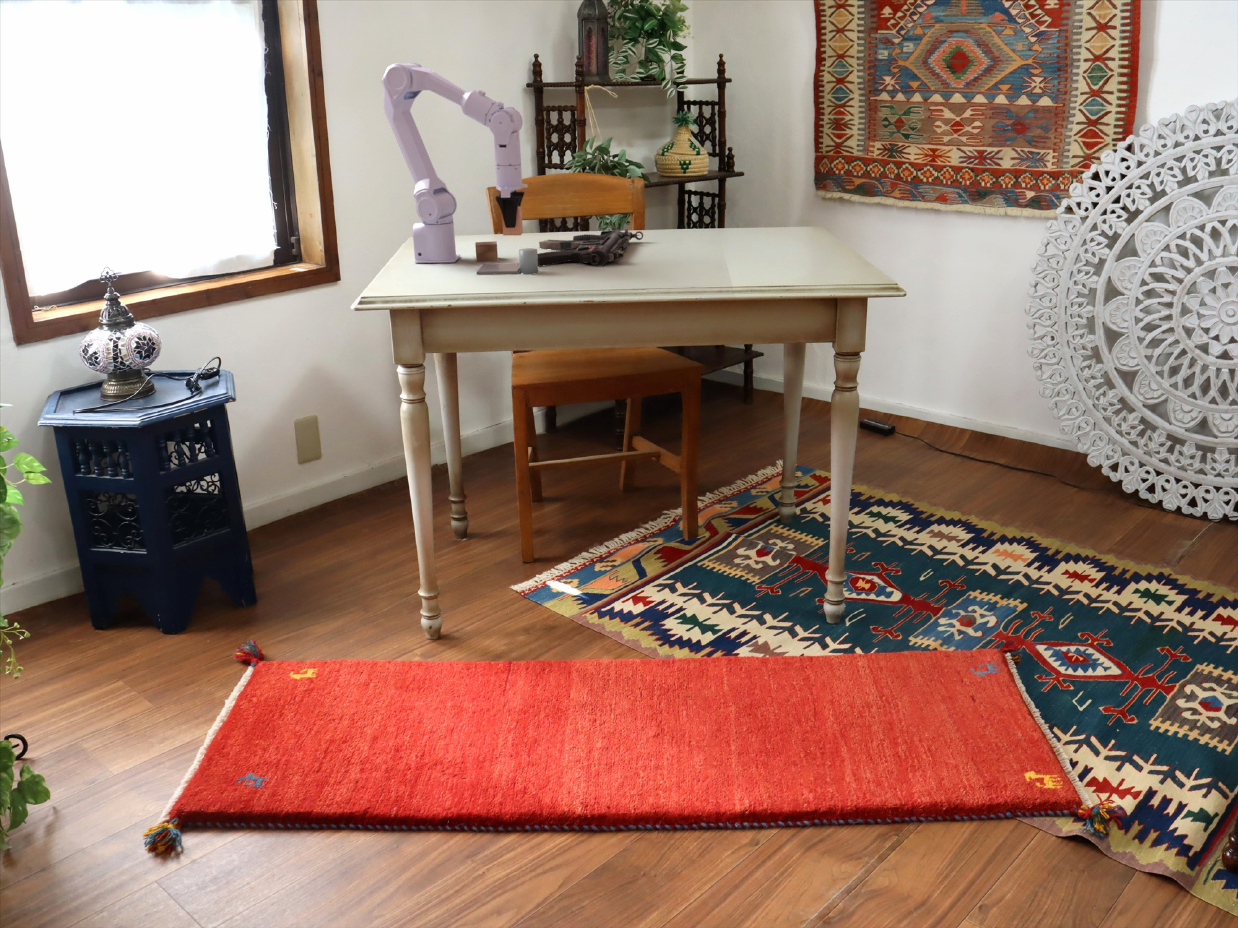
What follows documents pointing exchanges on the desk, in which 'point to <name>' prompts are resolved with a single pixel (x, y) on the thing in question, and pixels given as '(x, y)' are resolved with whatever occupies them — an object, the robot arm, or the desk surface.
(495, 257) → the walnut block
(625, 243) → the submachine gun
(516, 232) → the terracotta block
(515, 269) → the slate pad
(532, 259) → the grey teal cylinder
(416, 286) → the desk surface
